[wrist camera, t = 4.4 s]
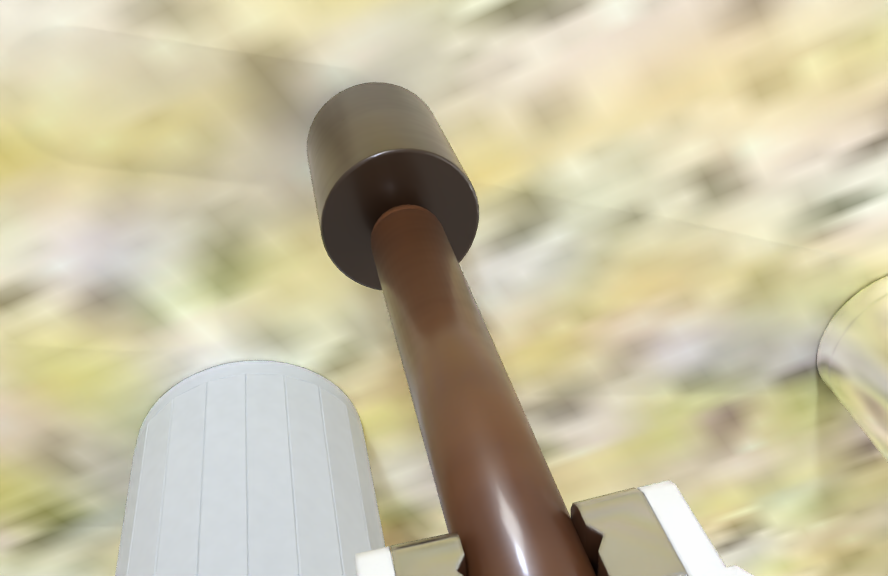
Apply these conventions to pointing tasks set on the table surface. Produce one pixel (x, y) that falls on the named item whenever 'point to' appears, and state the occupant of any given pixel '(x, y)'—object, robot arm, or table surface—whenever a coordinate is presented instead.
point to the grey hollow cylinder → (250, 478)
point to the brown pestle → (438, 324)
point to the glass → (860, 360)
